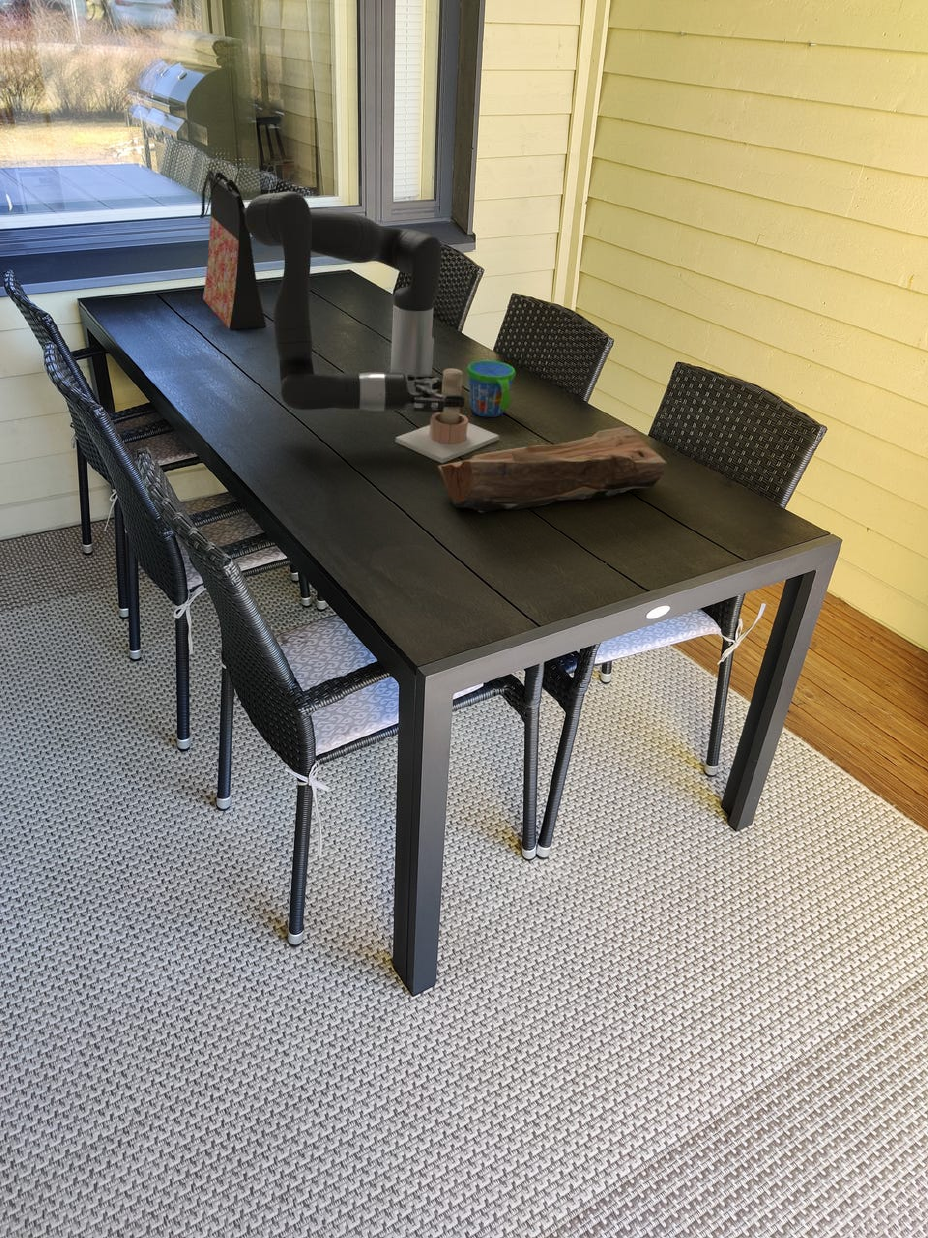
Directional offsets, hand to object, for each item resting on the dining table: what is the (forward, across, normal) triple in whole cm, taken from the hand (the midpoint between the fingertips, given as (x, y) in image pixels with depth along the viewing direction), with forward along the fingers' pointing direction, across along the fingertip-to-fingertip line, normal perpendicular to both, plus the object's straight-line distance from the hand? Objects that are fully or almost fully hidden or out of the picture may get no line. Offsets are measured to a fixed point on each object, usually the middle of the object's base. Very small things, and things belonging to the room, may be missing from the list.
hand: (460, 393), depth 200 cm
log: (+14, -24, +11) cm, 30 cm away
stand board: (-2, 0, +10) cm, 11 cm away
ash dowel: (-2, 0, +10) cm, 10 cm away
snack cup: (+9, +16, +11) cm, 21 cm away
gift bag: (-48, +79, +11) cm, 93 cm away
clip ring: (-2, 0, +10) cm, 10 cm away
